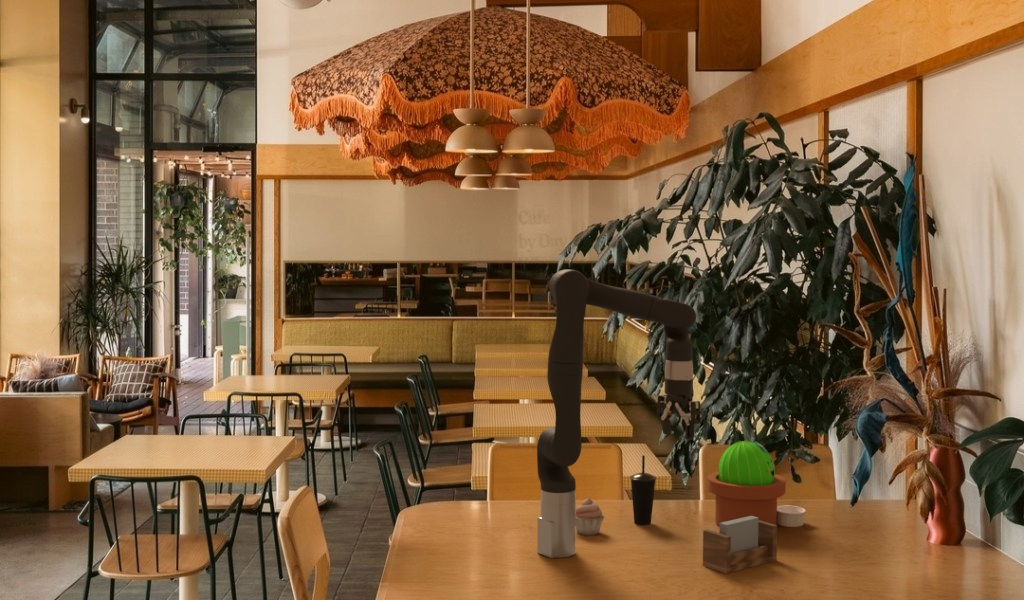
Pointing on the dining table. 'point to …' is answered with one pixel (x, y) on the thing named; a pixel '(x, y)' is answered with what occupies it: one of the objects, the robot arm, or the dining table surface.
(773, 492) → the potted cactus
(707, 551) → the wooden card holder
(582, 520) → the cupcake
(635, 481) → the drinking cup
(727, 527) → the gray rectangular slab
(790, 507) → the ramekin
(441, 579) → the dining table surface
